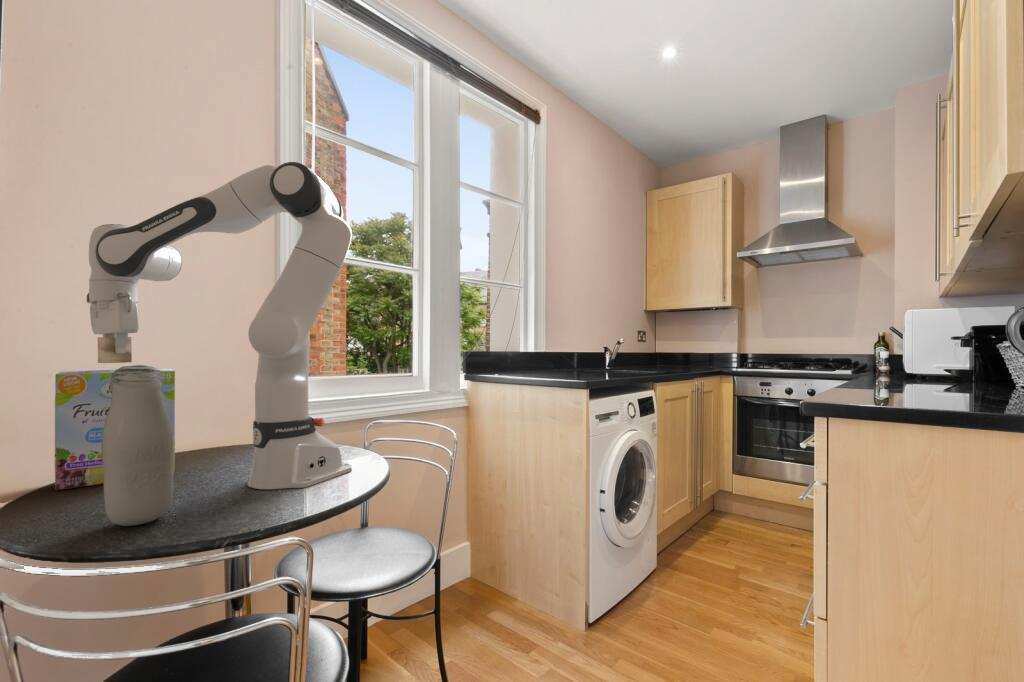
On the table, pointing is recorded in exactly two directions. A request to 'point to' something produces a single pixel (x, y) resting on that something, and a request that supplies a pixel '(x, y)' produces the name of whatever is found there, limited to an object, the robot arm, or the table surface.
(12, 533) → the table surface
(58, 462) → the snack box
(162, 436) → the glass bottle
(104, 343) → the maple block
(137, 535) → the table surface
